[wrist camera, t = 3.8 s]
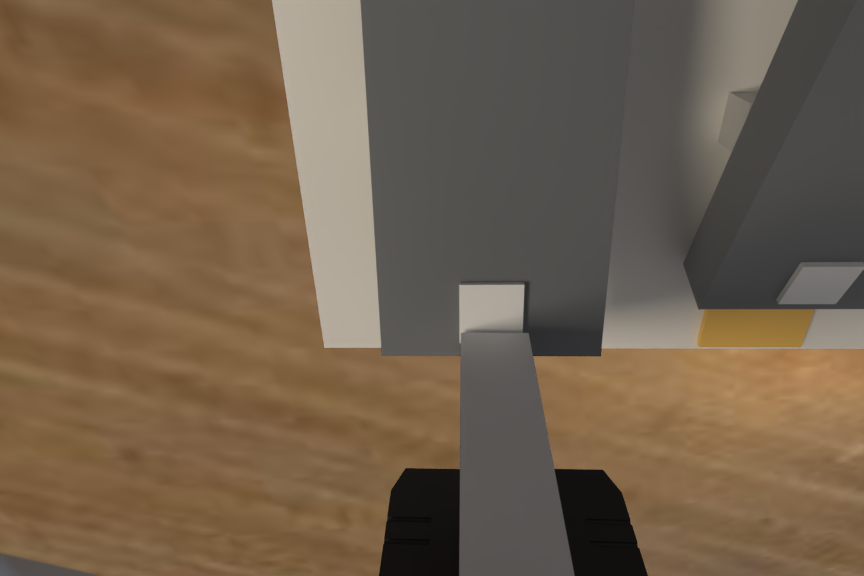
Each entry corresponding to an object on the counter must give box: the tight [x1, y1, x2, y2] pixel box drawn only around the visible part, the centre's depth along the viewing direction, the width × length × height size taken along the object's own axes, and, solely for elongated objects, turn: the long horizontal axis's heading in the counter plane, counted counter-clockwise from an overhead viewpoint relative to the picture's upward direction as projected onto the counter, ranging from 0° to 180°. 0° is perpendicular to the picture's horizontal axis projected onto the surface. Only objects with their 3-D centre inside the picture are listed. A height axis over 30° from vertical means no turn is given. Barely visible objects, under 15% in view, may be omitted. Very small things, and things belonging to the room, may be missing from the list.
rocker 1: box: [360, 0, 635, 356], centre depth 12 cm, size 9×5×2 cm, turn 2°
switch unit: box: [272, 0, 864, 349], centre depth 16 cm, size 14×26×6 cm, turn 92°
